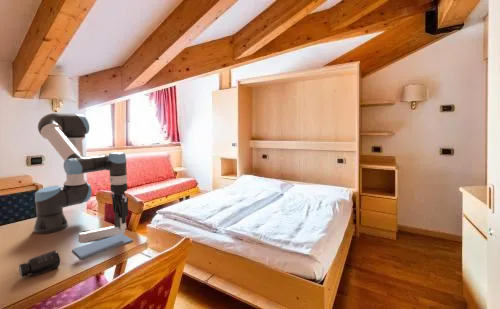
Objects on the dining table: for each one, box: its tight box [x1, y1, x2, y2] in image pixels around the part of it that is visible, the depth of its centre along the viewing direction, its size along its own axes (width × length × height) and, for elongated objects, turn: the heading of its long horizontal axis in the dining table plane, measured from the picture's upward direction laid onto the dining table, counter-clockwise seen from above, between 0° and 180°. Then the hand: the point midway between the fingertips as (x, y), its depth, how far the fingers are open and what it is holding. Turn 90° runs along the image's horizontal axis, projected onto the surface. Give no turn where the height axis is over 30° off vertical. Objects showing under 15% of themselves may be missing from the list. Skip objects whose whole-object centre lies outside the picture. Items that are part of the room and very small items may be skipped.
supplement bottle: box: [18, 250, 61, 278], centre depth 103 cm, size 7×7×12 cm
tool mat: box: [72, 233, 134, 260], centre depth 126 cm, size 12×23×1 cm, turn 141°
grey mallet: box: [78, 211, 126, 244], centre depth 125 cm, size 4×20×11 cm, turn 141°
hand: (121, 227), depth 132 cm, fingers closed on grey mallet, 4 cm apart
